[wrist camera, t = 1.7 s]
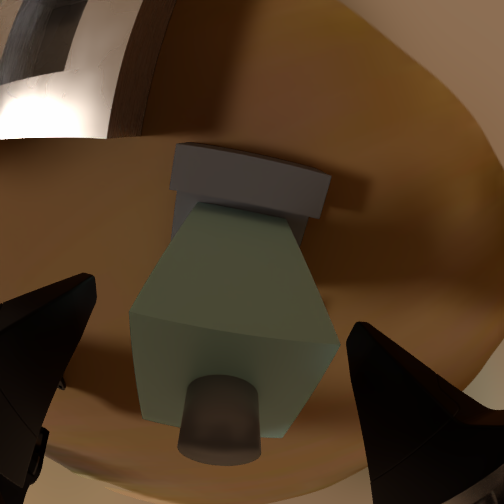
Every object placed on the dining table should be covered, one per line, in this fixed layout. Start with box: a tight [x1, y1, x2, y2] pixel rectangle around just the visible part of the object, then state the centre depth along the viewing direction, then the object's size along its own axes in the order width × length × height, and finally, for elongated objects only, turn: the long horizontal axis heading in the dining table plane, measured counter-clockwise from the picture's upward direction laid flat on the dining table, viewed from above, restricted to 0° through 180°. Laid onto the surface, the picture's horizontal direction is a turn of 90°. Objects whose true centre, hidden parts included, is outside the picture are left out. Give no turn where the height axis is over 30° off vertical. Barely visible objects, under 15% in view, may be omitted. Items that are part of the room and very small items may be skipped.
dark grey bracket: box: [169, 142, 331, 248], centre depth 12 cm, size 9×6×2 cm, turn 168°
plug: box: [129, 202, 341, 466], centre depth 8 cm, size 4×4×10 cm
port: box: [0, 0, 176, 139], centre depth 7 cm, size 11×11×4 cm
